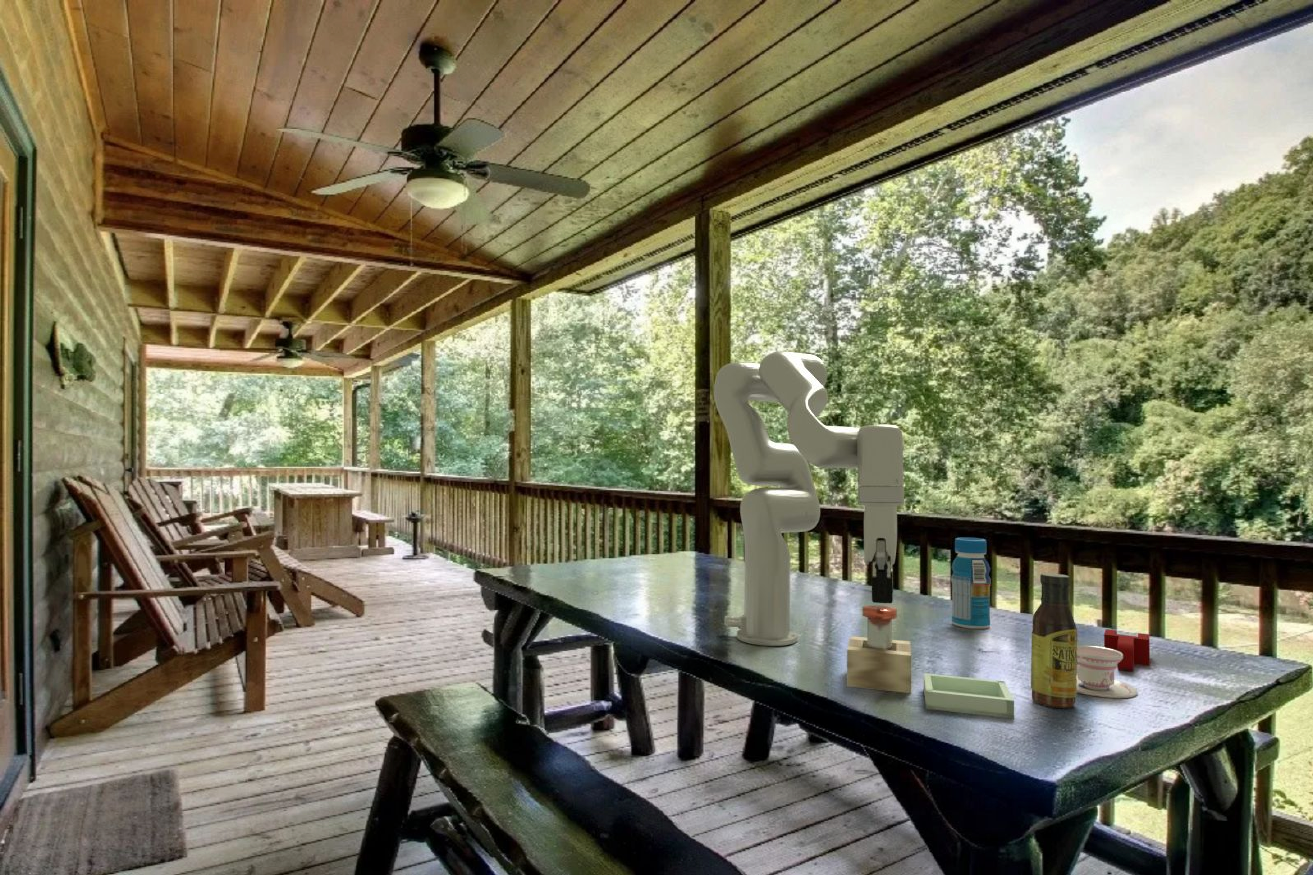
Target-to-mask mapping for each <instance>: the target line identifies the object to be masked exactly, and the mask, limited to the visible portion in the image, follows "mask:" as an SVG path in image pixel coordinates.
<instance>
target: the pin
mask: <svg viewBox="0 0 1313 875" xmlns="http://www.w3.org/2000/svg"><path fill="white" fill-rule="evenodd" d="M862 616H863V617H866V618H867V620H866V621H867V622H866V623H867V625H866V627H867V628H866V629H867V630H866V631H867V632H866V633H867V634H866V635H867V636H866V638H867V648H870V649H881V650H892V640H893V620H895V619H897V618H898V610H897V608H894V607H892V606H886V605H885V606H884V605H865V606H862Z"/></svg>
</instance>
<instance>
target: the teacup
mask: <svg viewBox="0 0 1313 875" xmlns="http://www.w3.org/2000/svg"><path fill="white" fill-rule="evenodd" d="M1122 659H1123V654H1122V653H1121V652H1119V651H1117V650H1114V649H1110V648H1105V647H1104V646H1098V645H1097V646H1096V645H1082V644H1081V645H1077V694H1078V693H1079V694H1083V695H1086V696H1091V697H1092V696H1093V697H1099V698H1108V699H1109V698H1110V699H1127V698H1133V697H1136V696H1137V695H1138V689H1137V688H1136V687H1134V686H1133V685H1131V684H1128V683H1126V682H1123V681H1120V680H1117V679H1115V670H1116V669H1118V665H1117V663H1119V662H1120V661H1121V660H1122ZM1080 684H1082V685H1083V686H1084V687H1085V688H1084V687H1081V686H1080ZM1108 688H1109V689H1110V690H1108Z"/></svg>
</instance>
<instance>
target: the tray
mask: <svg viewBox="0 0 1313 875" xmlns="http://www.w3.org/2000/svg"><path fill="white" fill-rule="evenodd" d="M923 694H924V702H925V709H927V710H933V711H943V712H951V713H960V714H969V715H979V716H985V717H986V716H987V717H996V718H1003V719H1012V720H1013V719H1015V700H1014V698H1013V695H1012V694H1011V692H1010V689H1009V688H1008V686H1007V684H1006V681H1004V680H995V679H985V678H975V677H974V678H973V677H966V676H965V677H963V676H954V675H945V674H935V673H923Z"/></svg>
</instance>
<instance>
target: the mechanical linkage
mask: <svg viewBox="0 0 1313 875" xmlns="http://www.w3.org/2000/svg"><path fill="white" fill-rule="evenodd" d="M1103 644H1104V646H1103V647H1105V648H1110V649H1114V650H1117V651H1119V652H1121V653H1122V654H1123V659H1122V660H1121V661H1120V662H1119V663H1117V670H1120V671H1128V672H1134V669H1135V665H1139V666H1140V665H1141V666H1148V667H1150V665H1151V664H1150V656H1151V654H1150V653H1151V652H1150V650H1151V649H1150V634H1149V633H1141V632H1138V633H1137V636H1134V635H1126V634H1120V633H1119V634H1118V631H1117V630H1116V629H1109V628H1106V629H1105V630H1104V634H1103Z"/></svg>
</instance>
